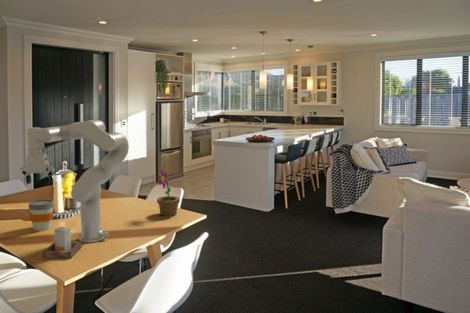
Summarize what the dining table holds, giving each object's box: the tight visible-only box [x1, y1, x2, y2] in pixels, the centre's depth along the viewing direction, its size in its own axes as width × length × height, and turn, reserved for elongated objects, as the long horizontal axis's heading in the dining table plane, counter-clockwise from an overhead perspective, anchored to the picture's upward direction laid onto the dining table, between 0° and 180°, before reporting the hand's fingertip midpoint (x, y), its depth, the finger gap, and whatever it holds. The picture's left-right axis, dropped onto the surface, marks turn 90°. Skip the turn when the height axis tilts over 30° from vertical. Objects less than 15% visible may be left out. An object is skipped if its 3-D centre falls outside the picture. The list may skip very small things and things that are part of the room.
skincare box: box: [54, 226, 72, 251], centre depth 185 cm, size 6×4×12 cm
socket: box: [42, 241, 82, 259], centre depth 185 cm, size 13×13×3 cm
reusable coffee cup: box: [28, 199, 54, 232], centre depth 218 cm, size 13×13×15 cm
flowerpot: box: [156, 168, 181, 217], centre depth 247 cm, size 14×14×30 cm
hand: (38, 183), depth 203 cm, fingers open, 9 cm apart
